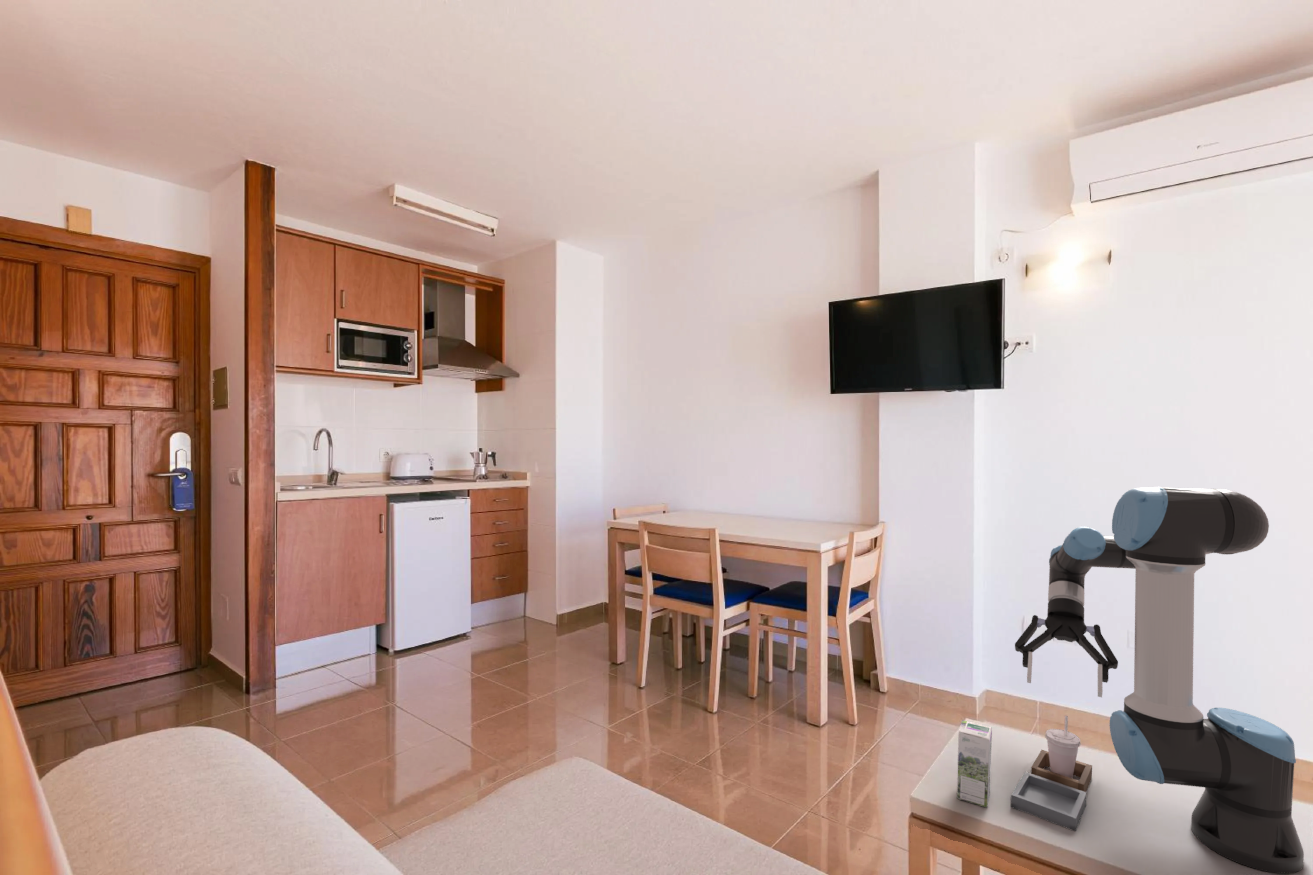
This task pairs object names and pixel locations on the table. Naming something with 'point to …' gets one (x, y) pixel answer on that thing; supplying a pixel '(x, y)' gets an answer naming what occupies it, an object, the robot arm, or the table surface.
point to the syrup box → (974, 763)
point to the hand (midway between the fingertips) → (1063, 687)
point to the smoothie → (1062, 750)
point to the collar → (1080, 771)
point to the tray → (1049, 800)
